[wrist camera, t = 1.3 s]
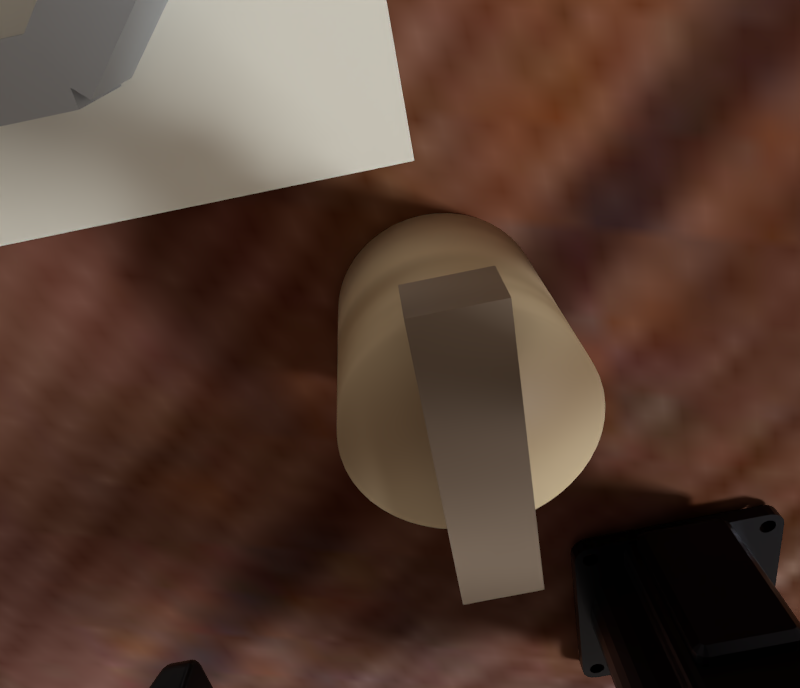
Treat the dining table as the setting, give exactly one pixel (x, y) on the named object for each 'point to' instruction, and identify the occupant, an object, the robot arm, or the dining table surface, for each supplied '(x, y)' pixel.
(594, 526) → the dining table surface
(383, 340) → the rotary grip knob
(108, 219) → the socket board
